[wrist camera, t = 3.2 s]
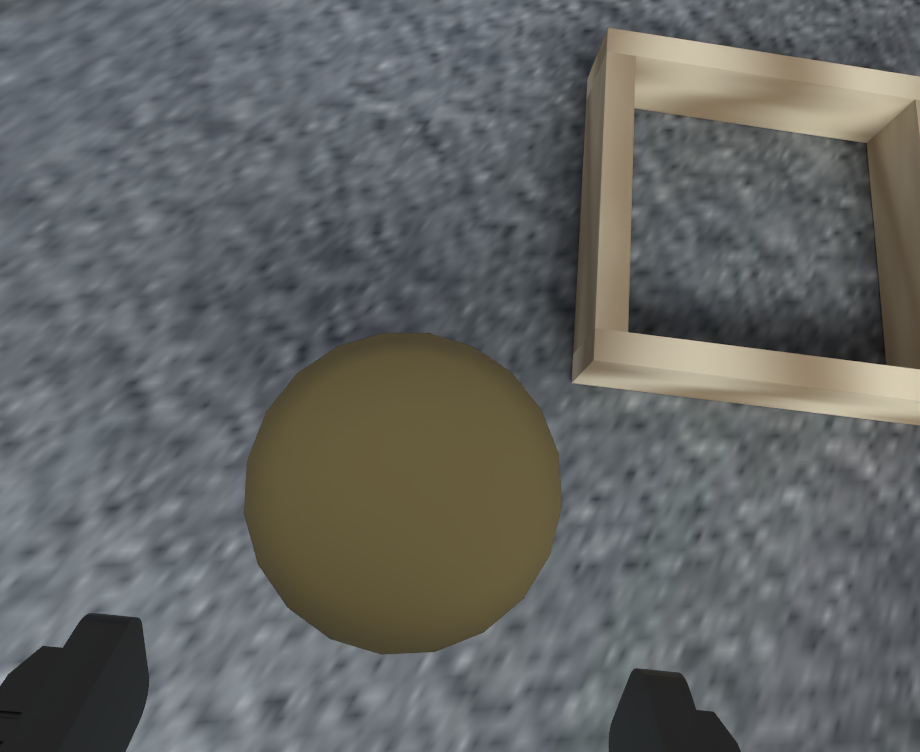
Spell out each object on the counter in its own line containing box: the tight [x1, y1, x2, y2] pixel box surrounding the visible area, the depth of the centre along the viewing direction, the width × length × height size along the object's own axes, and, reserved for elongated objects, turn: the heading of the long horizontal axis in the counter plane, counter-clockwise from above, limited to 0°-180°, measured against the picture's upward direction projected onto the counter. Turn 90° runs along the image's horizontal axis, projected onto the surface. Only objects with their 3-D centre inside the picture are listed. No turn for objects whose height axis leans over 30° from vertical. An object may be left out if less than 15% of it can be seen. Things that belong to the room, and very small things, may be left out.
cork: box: [244, 333, 562, 654], centre depth 15 cm, size 6×6×11 cm
